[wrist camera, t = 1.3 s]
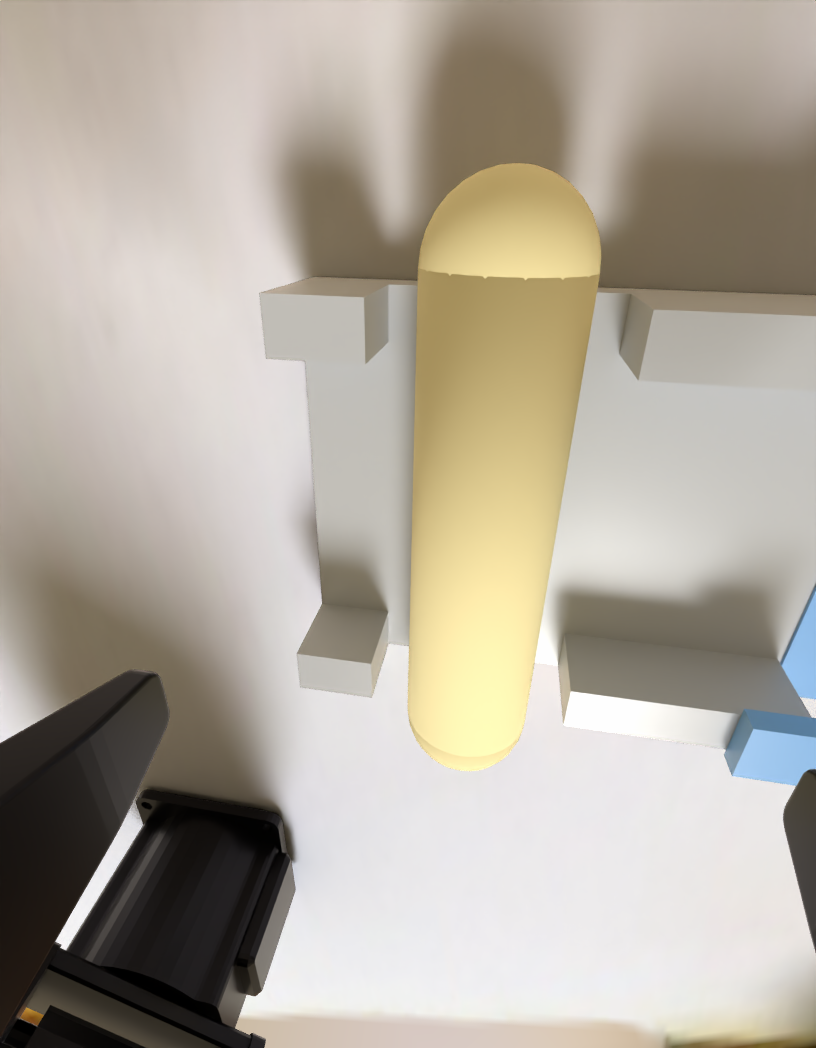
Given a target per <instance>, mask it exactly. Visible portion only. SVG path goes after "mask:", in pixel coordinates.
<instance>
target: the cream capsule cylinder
mask: <svg viewBox="0 0 816 1048" xmlns="http://www.w3.org/2000/svg"><path fill="white" fill-rule="evenodd" d="M600 266H601V245H600V237H599V231H598V228H597V225H596V222H595V219H594V216H593V213H592V211H591V210H590V208H589V206H588V204H587V203H586V201H585V199H584V198H583V196H582V195H581V194H580V193H579V192H578V191H577V190H576V188H575V187H574V186H573V185H572V184H571V183H570V182H569V181H567V180H566V179H564V178H563V177H561V176H560V175H558V174H557V173H555V172H554V171H551V170H548V169H546V168H543V167H540V166H537V165H534V164H523V163H510V164H499V165H496V166H493V167H490V168H487V169H484V170H481V171H479V172H477V173H475V174H474V175H472V176H470V177H468V178H467V179H465V180H463V181H462V182H461V183H460V184H459V185H458V186H456V187H455V188H454V189H453V190H452V191H451V192H450V193H449V194H447V196H446V197H445V198H444V200H443V201H442V202H441V204H440V205H439V206H438V208H437V209H436V210H435V212H434V214H433V216H432V218H431V220H430V222H429V224H428V226H427V228H426V230H425V234H424V237H423V241H422V244H421V247H420V255H419V264H418V289H417V332H416V374H415V416H414V459H413V501H412V544H411V586H410V629H409V671H408V715H409V722H410V726H411V729H412V731H413V733H414V736H415V738H416V740H417V742H418V743H419V745H420V746H421V747H422V749H423V750H424V751H425V752H426V753H427V754H428V755H429V756H430V757H431V758H432V759H434V760H435V761H437V762H438V763H440V764H442V765H444V766H446V767H449V768H452V769H456V770H461V771H476V770H482V769H485V768H488V767H490V766H492V765H494V764H496V763H498V762H499V761H501V760H502V759H503V758H505V757H506V756H507V755H508V754H509V753H510V751H511V750H512V749H513V747H514V746H515V745H516V743H517V742H518V740H519V737H520V735H521V732H522V729H523V726H524V722H525V716H526V710H527V704H528V698H529V692H530V687H531V681H532V675H533V669H534V663H535V657H536V651H537V645H538V639H539V633H540V627H541V621H542V615H543V609H544V603H545V598H546V592H547V586H548V580H549V574H550V568H551V562H552V556H553V550H554V544H555V538H556V532H557V526H558V520H559V514H560V509H561V503H562V497H563V491H564V485H565V479H566V473H567V467H568V461H569V455H570V449H571V443H572V437H573V431H574V425H575V420H576V414H577V408H578V402H579V396H580V390H581V384H582V378H583V372H584V366H585V360H586V354H587V348H588V342H589V336H590V331H591V325H592V319H593V313H594V307H595V301H596V295H597V289H598V283H599V277H600Z"/></svg>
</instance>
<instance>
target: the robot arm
mask: <svg viewBox="0 0 816 1048" xmlns="http://www.w3.org/2000/svg"><path fill="white" fill-rule="evenodd" d="M168 721H169V707H168V703H167V699H166V695H165V692H164V688H163V684H162V680H161V678H160V676H159V675H158V674H157V673H155V672H150V671H143V670H136V669H134V670H129V671H127V672H124V673H123V674H121V675H119V676H117V677H116V678H114V679H112V680H110V681H109V682H107V683H105V684H103V685H102V686H100V687H98V688H96V689H95V690H93V691H91V692H89V693H88V694H86V695H84V696H82V697H80V698H79V699H77V700H75V701H73V702H72V703H70V704H68V705H66V706H65V707H63V708H61V709H59V710H58V711H56V712H54V713H52V714H51V715H49V716H47V717H45V718H44V719H42V720H40V721H38V722H37V723H35V724H33V725H31V726H29V727H28V728H26V729H24V730H22V731H21V732H19V733H17V734H15V735H14V736H12V737H10V738H8V739H7V740H5V741H3V742H1V743H0V1048H264V1047H265V1041H266V1039H264V1038H262V1037H260V1036H258V1035H256V1034H253V1033H251V1034H250V1035H248V1034H246V1033H244V1032H241V1031H239V1030H237V1029H235V1026H236V1023H237V1021H238V1018H239V1015H240V1012H241V1009H242V1006H243V1003H244V1001H245V998H246V995H251V996H256V995H258V994H259V993H260V992H261V991H262V990H263V987H264V984H265V981H266V978H267V975H268V972H269V969H270V966H271V963H272V960H273V956H274V953H275V950H276V947H277V944H278V941H279V938H280V935H281V932H282V929H283V926H284V923H285V920H286V917H287V914H288V911H289V908H290V905H291V902H292V899H293V896H294V893H295V882H294V876H293V869H292V862H291V859H290V857H289V855H288V853H287V849H286V843H285V836H284V829H283V822H282V819H281V818H280V817H279V816H278V815H277V814H275V813H272V812H268V811H263V810H257V809H252V808H246V807H240V806H235V805H229V804H224V803H218V802H213V801H207V800H202V799H196V798H191V797H185V796H179V795H174V794H168V793H163V792H157V791H152V790H144V791H142V793H141V794H140V796H139V797H138V799H137V800H136V805H137V808H138V811H139V813H140V816H141V819H142V822H143V826H142V828H141V830H140V831H139V833H138V835H137V836H136V838H135V839H134V841H133V843H132V844H131V846H130V848H129V849H128V851H127V852H126V854H125V856H124V857H123V859H122V860H121V862H120V864H119V865H118V867H117V869H116V870H115V872H114V873H113V875H112V877H111V878H110V880H109V882H108V883H107V885H106V886H105V888H104V890H103V891H102V893H101V895H100V896H99V898H98V899H97V901H96V903H95V904H94V906H93V908H92V909H91V911H90V912H89V914H88V916H87V917H86V919H85V920H84V922H83V924H82V925H81V927H80V929H79V930H78V932H77V933H76V935H75V937H74V938H73V940H72V942H71V943H70V945H69V946H68V948H67V950H64V949H61V948H60V947H61V944H59V943H57V942H55V941H56V939H57V937H58V936H59V934H60V932H61V930H62V929H63V927H64V925H65V923H66V922H67V920H68V918H69V916H70V915H71V913H72V911H73V910H74V908H75V906H76V904H77V903H78V901H79V899H80V897H81V896H82V894H83V892H84V890H85V889H86V887H87V885H88V883H89V882H90V880H91V878H92V876H93V875H94V873H95V871H96V870H97V868H98V866H99V864H100V863H101V861H102V859H103V857H104V856H105V854H106V852H107V850H108V849H109V847H110V845H111V843H112V842H113V840H114V838H115V836H116V834H117V833H118V831H119V829H120V827H121V825H122V823H123V821H124V819H125V817H126V815H127V813H128V811H129V809H130V807H131V805H132V802H133V800H134V798H135V796H136V794H137V791H138V789H139V787H140V785H141V783H142V780H143V778H144V776H145V774H146V772H147V769H148V767H149V765H150V763H151V761H152V758H153V756H154V754H155V752H156V750H157V747H158V745H159V743H160V741H161V739H162V737H163V734H164V732H165V730H166V728H167V725H168ZM783 821H784V828H785V832H786V836H787V841H788V845H789V849H790V853H791V857H792V861H793V865H794V869H795V873H796V877H797V881H798V885H799V889H800V893H801V897H802V901H803V905H804V909H805V913H806V917H807V922H808V926H809V930H810V934H811V937H812V941H813V945H814V948H815V952H816V769H809V770H807V771H806V772H804V773H803V775H802V776H801V778H800V780H799V782H798V784H797V786H796V787H795V789H794V791H793V793H792V795H791V797H790V798H789V800H788V802H787V804H786V806H785V809H784V814H783ZM26 1007H27V1008H30V1009H32V1010H34V1011H36V1012H39V1013H41V1014H43V1015H44V1016H43V1018H42V1019H41V1021H40V1023H39V1024H38V1026H36V1025H34V1024H31V1023H29V1022H27V1021H25V1020H22V1019H20V1017H21V1015H22V1013H23V1012H24V1010H25V1009H26Z"/></svg>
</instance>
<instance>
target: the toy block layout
mask: <svg viewBox="0 0 816 1048" xmlns="http://www.w3.org/2000/svg"><path fill="white" fill-rule="evenodd" d="M417 289H418V281H414V280H387V279H360V278H333V277H311V278H308V279H305V280H301V281H298V282H295V283H291V284H288V285H284V286H281V287H278V288H274V289H271V290H268V291H264V292H261V293H259V297H260V306H261V316H262V325H263V335H264V345H265V354H266V359H278V360H295V361H305V368H306V382H307V396H308V410H309V424H310V438H311V452H312V466H313V480H314V494H315V508H316V522H317V537H318V551H319V565H320V579H321V593H322V605H321V607H320V609H319V611H318V613H317V615H316V617H315V619H314V621H313V623H312V625H311V627H310V629H309V631H308V633H307V635H306V637H305V639H304V640H303V642H302V644H301V646H300V648H299V650H298V652H297V661H298V670H299V680H300V687H302V688H309V689H315V690H322V691H329V692H336V693H343V694H350V695H357V696H363V697H370V698H372V696H373V692H374V689H375V686H376V683H377V679H378V676H379V673H380V669H381V666H382V663H383V660H384V656H385V653H386V650H387V647H388V643H389V644H397V645H404V646H409V629H410V586H411V544H412V501H413V459H414V416H415V374H416V332H417ZM535 663H542V664H549V665H557V666H558V670H559V681H560V693H561V704H562V716H563V726H569V727H576V728H583V729H590V730H597V731H604V732H610V733H617V734H624V735H631V736H638V737H645V738H652V739H658V740H665V741H672V742H679V743H686V744H693V745H700V746H707V747H713V748H720V749H726V752H725V754H724V756H725V759H726V761H727V764H728V767H729V769H730V772H731V774H732V776H736V777H742V778H749V779H756V780H762V781H769V782H775V783H782V784H788V785H795V786H797V784H798V782H799V780H800V778H801V776H802V775H803V773H804V772H806V771H807V770H809V769H816V718H811V716H810V714H809V712H808V711H807V709H806V707H805V706H804V704H803V702H802V700H801V699H800V697H801V698H809V699H816V295H795V294H767V293H740V292H713V291H686V290H659V289H632V288H604V287H598V289H597V295H596V301H595V307H594V313H593V319H592V325H591V331H590V336H589V342H588V348H587V354H586V360H585V366H584V372H583V378H582V384H581V390H580V396H579V402H578V408H577V414H576V420H575V425H574V431H573V437H572V443H571V449H570V455H569V461H568V467H567V473H566V479H565V485H564V491H563V497H562V503H561V509H560V514H559V520H558V526H557V532H556V538H555V544H554V550H553V556H552V562H551V568H550V574H549V580H548V586H547V592H546V598H545V603H544V609H543V615H542V621H541V627H540V633H539V639H538V645H537V651H536V657H535Z"/></svg>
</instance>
